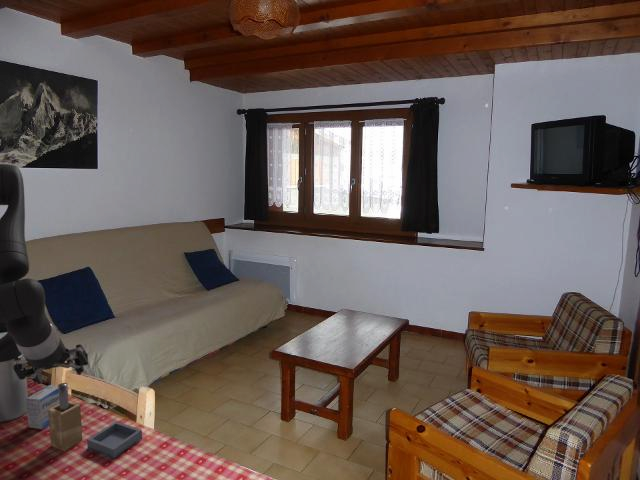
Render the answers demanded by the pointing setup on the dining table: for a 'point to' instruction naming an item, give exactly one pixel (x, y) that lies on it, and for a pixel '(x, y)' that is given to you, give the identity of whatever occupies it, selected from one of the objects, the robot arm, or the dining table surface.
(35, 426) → the medicine box
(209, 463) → the dining table surface
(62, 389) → the post
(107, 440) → the tray
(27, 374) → the robot arm
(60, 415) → the sleeve
